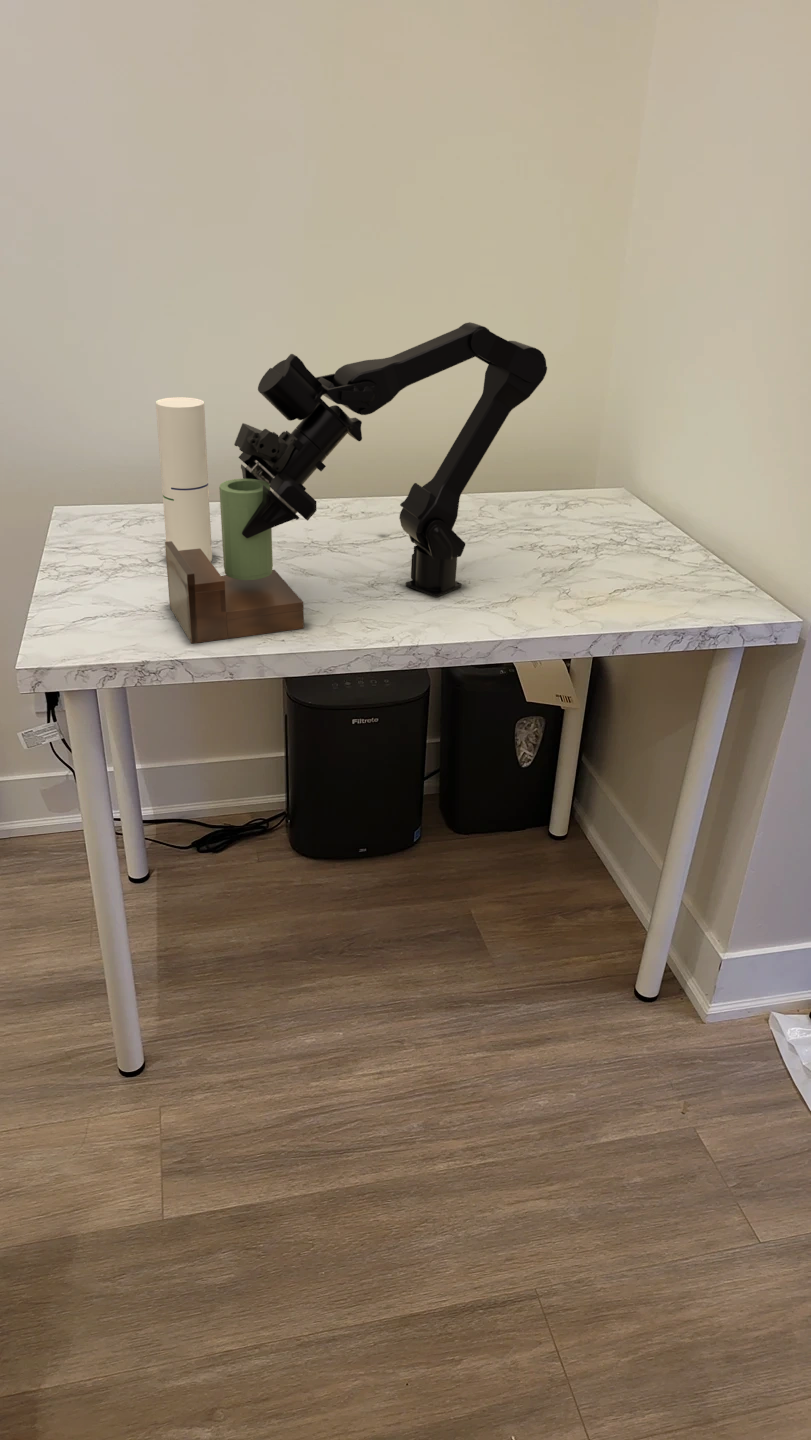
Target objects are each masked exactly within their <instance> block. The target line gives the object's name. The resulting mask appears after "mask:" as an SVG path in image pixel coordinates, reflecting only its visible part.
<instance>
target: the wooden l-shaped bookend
mask: <svg viewBox="0 0 811 1440" xmlns="http://www.w3.org/2000/svg"><path fill="white" fill-rule="evenodd" d="M164 547H165V548H164V550H165V561H166V573H167V574H166V575H167V589H168V599H169V601H168V602H169V609H170V610H171V612H172V613H173V615H174V617H175V618H176V620H177V621H178V623H179V625H180V627H181V628H182V630H183V632H184V633H185V635H186V637H187V638H188V640H189V642H190V643H191V644H200V643H206V642H214V641H221V640H227V639H237V638H243V637H250V636H256V635H264V634H272V633H279V632H285V631H286V632H287V631H293V630H301V629H302V630H303V629H304V625H305V624H304V623H305V622H304V621H305V620H304V616H305V615H304V614H305V613H304V601H303V599H301V597H300V596H299V595H298V594H297V593H296V592H295V591H294V589H292V587H291V586H290V585H289V584H288V583H287V582H286V581H285V580H284V578H283V577H282V576H281V575H280V574H279V573H278V572H277V571H276V569H273V572H272V574H271V575H269V576H267V577H265V578H262V579H257V580H239V579H234V578H231V577H228V576H227V575H226V574H225V575H224V574H223V575H221V573H219V571H218V570H217V568H216V567H215V566H214V565H213V563H212V561H211V562H210V561H209V559H208V558H207V557H206V555H205V554H204V553H203V551H202V550H201V549H190V550H180V551H178V550H177V548H176V547H175V545H174V544H173V542H172V541H169V542H166V541H165V542H164Z"/></svg>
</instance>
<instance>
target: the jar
mask: <svg viewBox="0 0 811 1440" xmlns="http://www.w3.org/2000/svg"><path fill="white" fill-rule="evenodd" d="M263 485H264V486H265V487H266V488H267V489H269V490H271V487H269V486H270V485H269V484H268V483H267V482H265V481H262V480H257V479H243V478H234V479H229V480H226V481H223V482H222V483H220V484H219V487H218V488H219V506H220V522H221V523H220V524H221V539H222V542H221V543H222V558H223V569H224V574H225V575H227V576H228V577H231V578H234V579H239V580H257V579H262V578H265V577H267V576H269V575H271V574H272V572H273V570H274V569H273V567H274V563H273V561H274V559H273V532H272V531H273V529H272V528H270V529H268V530H266V531H264V532H261V533H259V534H257V535H254V536H252V537H250V538H246V537H244V536H243V535H242V531H243V529H244V528H245V526H246V525H247V523H248V522H249V520H250V519H251V517H252V516H253V514H254V513H255V511H256V510H257V508H258V507H259V505H260V504H261V503H262V500H263Z"/></svg>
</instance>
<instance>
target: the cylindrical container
mask: <svg viewBox="0 0 811 1440" xmlns="http://www.w3.org/2000/svg"><path fill="white" fill-rule="evenodd" d="M155 409H156V424H157V438H158V453H159V464H160V477H161V478H160V479H161V491H162V503H163V505H162V506H163V517H164V518H163V519H164V531H165V542H169V541H172V542H173V544H174V545H175V547H176V548H177V550H178V551H180V550H190V549H201V550H202V551H203V553H204V554H205V555H206V557H207V558H208V559H209V561H210V562H211V563H212V561H213V545H212V530H211V529H212V527H211V509H210V506H211V505H210V487H209V470H208V453H207V450H208V449H207V434H206V433H207V432H206V412H205V411H206V410H205V402H204V400H203V399H200V398H195V397H190V396H189V397H187V396H186V397H185V396H183V397H182V396H174V397H173V396H172V397H171V396H170V397H164V398H160V399H158V400H156V401H155Z"/></svg>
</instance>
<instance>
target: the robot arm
mask: <svg viewBox="0 0 811 1440" xmlns="http://www.w3.org/2000/svg"><path fill="white" fill-rule="evenodd" d="M473 358H477V359H478V360H480V361H481V362H483V363H484V364H485V363H486V364H487V367H486V370H485V374H484V380H483V388H482V394H481V396H480V398H479V399H478V401H477V403H476V404H475V406H474V408H473V410H472V411H471V413H470V415H469V416H468V418H467V419H466V422H465V423H464V425H463V427H462V428H461V430H460V432H459V434H458V435H457V437H456V439H455V440H454V442H453V443H452V445H451V447H450V449H449V450H448V452H447V454H446V456H445V457H444V459H443V461H442V462H441V464H440V466H439V467H438V469H437V471H436V472H435V474H434V476H433V477H432V479H431V480H429V481H428V482H426V483H425V484H423V485H422V486H421V485H420V484H418V483H417V482H414V483H413V484H412V485H411V487H410V489H409V492H408V495H407V496H406V498H405V499H404V500H403V501H402V502H401V503H400V505H399V506H400V507H401V511H400V513H399V516H398V517H399V523H400V526H401V527H402V530H403V531H404V532H405V533H406V534H408V536H409V540H410V542H411V543H412V544H415V545H413V553H412V554H411V563H410V565H411V567H410V579H411V580H408V581H407V582H405V587H408V588H410V589H412V590H416V591H418V592H421V593H423V594H427V595H429V596H432V597H436V598H437V597H440V596H443V595H445V594H447V593H450V592H452V591H454V590H457V589H460V588H462V585H463V584H462V582H459V581H457V568H458V567H457V566H458V558H459V557H461V556H462V555H463V552H464V549H465V547H466V542H464V541H463V539H461V537H460V536H459V535H458V534H457V533H456V532H455V531H454V530H453V529H454V526H455V524H456V522H457V519H458V515H459V505H460V499H461V497H462V494H463V492H464V490H465V488H466V487H467V486H468V483H469V482H470V480H471V478H472V477H473V475H474V473H475V472H476V470H477V468H478V466H479V465H480V463H481V462H482V460H483V458H484V457H485V455H486V454H487V451H488V450H489V448H490V446H491V445H492V443H493V441H494V440H495V438H496V436H497V435H498V433H499V432H500V429H501V428H502V426H503V424H504V423H505V421H506V419H507V418H508V417H509V415H510V413H511V412H512V411H513V410H514V409H515V408H517V407H519V406H520V405H521V404H522V403H523V402H525V401H526V400H527V399H529V398H530V397H531V396H532V394H533V393H534V392H535V391H536V389H537V388H539V386H540V385H541V383H542V382H543V380H544V379H545V378H546V375H547V373H548V372H547V371H548V366H547V359H546V356H545V354H544V353H543V352H542V351H541V350H540V349H539V348H536V347H535V346H530V345H528V344H525V343H522V342H519V341H516V340H507V339H506V338H503V337H502V336H499V335H497V334H496V333H494V332H492V331H490V329H489V328H488V327H486V326H484V325H481V324H478V323H476V322H475V323H474V322H470V321H469V322H465V323H463V324H462V325H460V326H458V327H457V328H455V329H453V330H451V331H448V332H446V333H443V334H441V335H439V336H437V337H434V338H432V339H430V340H427V341H424V342H422V343H420V344H418V345H415V346H413V347H411V348H408V349H406V350H403V351H400V352H399V353H397V354H394V355H392V356H388V357H384V358H374V359H366V360H360V361H355V362H351V363H347V364H344V365H342V366H340V367H339V368H338V369H337V370H336V371H335V372H334V373H330V374H327V375H326V374H325V375H320V376H315V375H314V374H313V373H312V372H311V371H310V370H309V369H308V368H307V367H306V365H305V364H304V362H303V360H301V359H300V357H298V355H296V354H293V353H290V354H289V355H288V356H287V357H286V359H283V360H280V361H279V362H277V363H276V364H275V365H274V366H273V367H269V369H267V371H266V372H265V373H264V375H263V376H262V377H261V379H260V381H259V383H258V386H257V391H258V393H259V394H260V395H261V396H262V397H263V398H264V399H266V401H268V402H269V403H270V404H271V406H273V407H274V408H275V409H276V410H277V411H278V412H279V413H280V414H281V415H282V416H283V417H284V418H285V419H286V420H287V421H290V422H291V421H294V420H298V421H300V423H298V425H296V427H295V428H294V429H293V431H292V432H289V431H288V430H284V431H282V432H281V433H280V435H279V434H278V433H276V432H275V431H270V430H269V429H267V428H263V429H262V430H261V429H259V428H257V427H255V426H252V425H250V424H247V423H244V422H242V424H241V426H240V429H239V431H238V433H237V436H236V439H235V441H234V443H233V444H234V447H238V449H239V451H240V452H241V454H239V456H238V459H239V460H240V461H242V463H244V464H245V465H243V464H242V463H241V464H240V469H241V475H242V479H257V480H262V481H265V482H267V483H268V484H269V485H270V486H269V487H270V490H269V489H267V488H266V487H265V486H264V485H263V500H262V503H261V504H260V505H259V507H258V508H257V510H256V511H255V513H254V514H253V516H252V517H251V519H250V520H249V522H248V523H247V525H246V526H245V528H244V529H243V531H242V535H243V536H244V537H246V538H250V537H252V536H254V535H257V534H259V533H261V532H264V531H266V530H268V529H270V528H275V527H278V526H280V525H283V524H285V523H288V522H290V521H291V522H292V521H293V520H298V521H299V519H300V517H299V515H300V516H301V517H302V518H303V519H305V521H309V520H310V519H311V518H312V516H313V515H314V514H315V513H316V512H317V500H316V499H314V497H312V495H310V493H308V492H307V491H306V490H307V488H306V487H305V486H304V484H305V483H306V481H307V480H309V478H310V477H311V476H312V475H313V474H314V473H315V471H316V470H318V471H320V472H322V471H323V470H324V469H325V468H326V465H325V464H324V463H323V462H325V460H326V459H327V457H328V456H329V455H330V454H331V453H332V452H333V451H334V450H335V448H336V447H337V446H338V445H339V443H341V441H342V440H343V439H344V438H345V437H346V436H347V434H348V436H350V437H351V438H353V439H354V440H356V442H357V441H358V442H361V441H362V440H363V435H362V423H363V421H362V420H361V419H359V418H357V417H350V416H349V415H348V414H347V413H346V411H344V410H343V409H342V408H341V407H340V406H339V405H342V406H344V407H345V408H347V409H348V410H350V411H352V412H353V413H356V414H357V415H361V416H367V415H371V414H373V413H375V412H376V411H378V410H380V409H381V408H383V407H384V406H386V405H387V404H388V403H389V404H390V403H391V401H392V400H394V398H396V396H397V395H398V394H399V393H400V392H401V391H403V390H404V389H405V388H407V387H409V386H411V385H414V384H416V383H418V382H421V381H422V380H425V379H427V378H429V377H432V376H435V375H437V374H439V373H441V372H443V371H445V370H447V369H448V370H449V369H450V368H453V367H455V366H457V365H459V364H461V363H464V362H467V361H469V360H471V359H473ZM322 397H325V398H326V399H329V400H330V401H331V402H333V403H335V405H330V406H329V405H328V404H327V403H326V402H325V401H324V400H323V398H322ZM245 466H246V467H245ZM272 490H273V491H272ZM297 513H298V514H299V515H298V514H297Z"/></svg>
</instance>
